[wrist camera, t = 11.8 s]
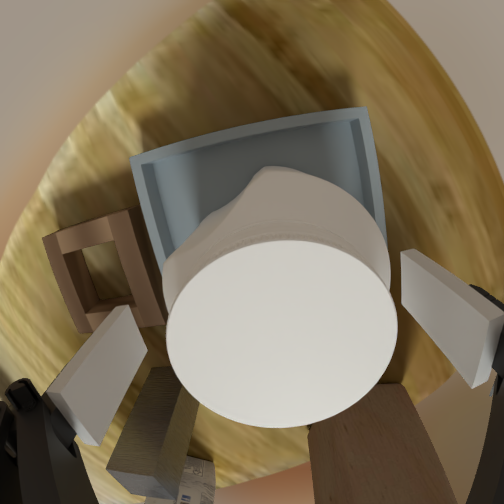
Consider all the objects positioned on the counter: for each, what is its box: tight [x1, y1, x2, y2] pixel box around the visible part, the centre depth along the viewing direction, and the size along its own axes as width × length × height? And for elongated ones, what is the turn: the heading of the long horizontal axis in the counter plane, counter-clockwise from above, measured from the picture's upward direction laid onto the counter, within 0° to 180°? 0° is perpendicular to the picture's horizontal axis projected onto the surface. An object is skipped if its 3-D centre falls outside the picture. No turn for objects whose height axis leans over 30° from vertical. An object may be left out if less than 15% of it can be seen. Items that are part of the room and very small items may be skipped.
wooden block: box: [308, 383, 458, 504], centre depth 21 cm, size 10×10×20 cm
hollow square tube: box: [42, 204, 169, 333], centre depth 25 cm, size 10×10×3 cm
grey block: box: [106, 366, 200, 500], centre depth 23 cm, size 4×4×14 cm
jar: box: [162, 166, 398, 428], centre depth 17 cm, size 12×10×15 cm
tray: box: [129, 107, 388, 275], centre depth 23 cm, size 18×18×3 cm
